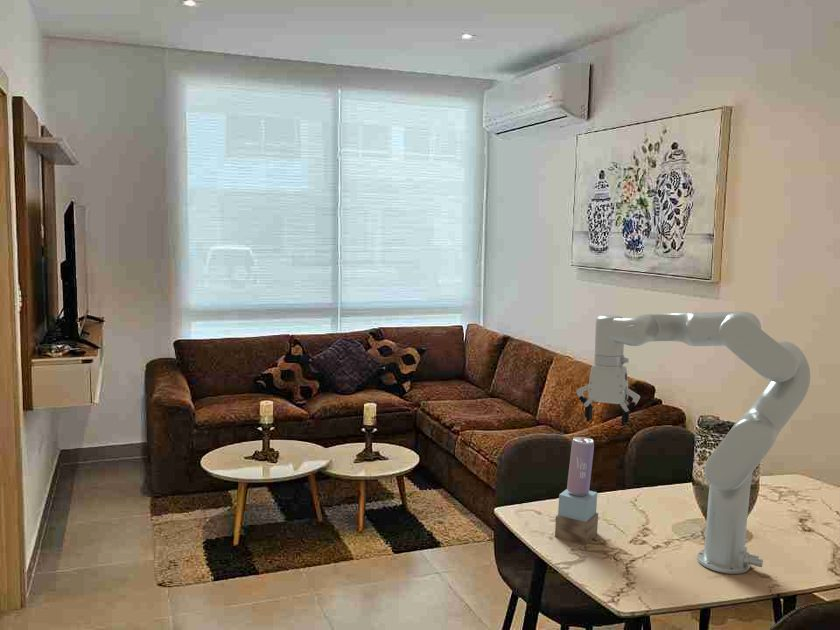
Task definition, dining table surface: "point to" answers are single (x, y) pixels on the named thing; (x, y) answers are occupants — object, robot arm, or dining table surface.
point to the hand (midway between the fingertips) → (606, 422)
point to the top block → (577, 506)
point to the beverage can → (580, 466)
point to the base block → (576, 529)
